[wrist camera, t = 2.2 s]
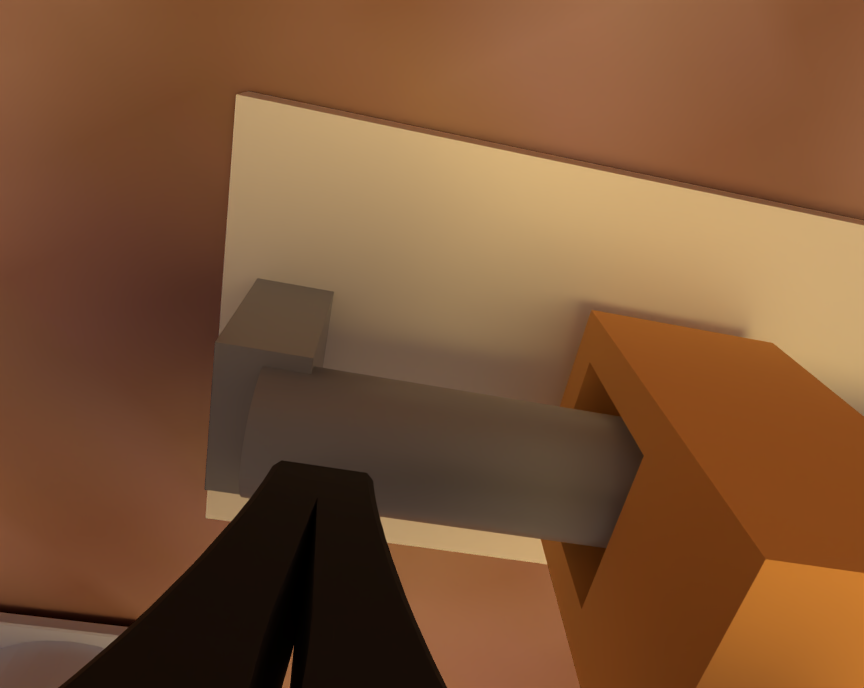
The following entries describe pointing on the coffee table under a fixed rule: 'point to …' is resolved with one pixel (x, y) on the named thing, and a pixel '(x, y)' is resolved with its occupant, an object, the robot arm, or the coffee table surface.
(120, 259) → the coffee table surface
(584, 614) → the orange block with hole
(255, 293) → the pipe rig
